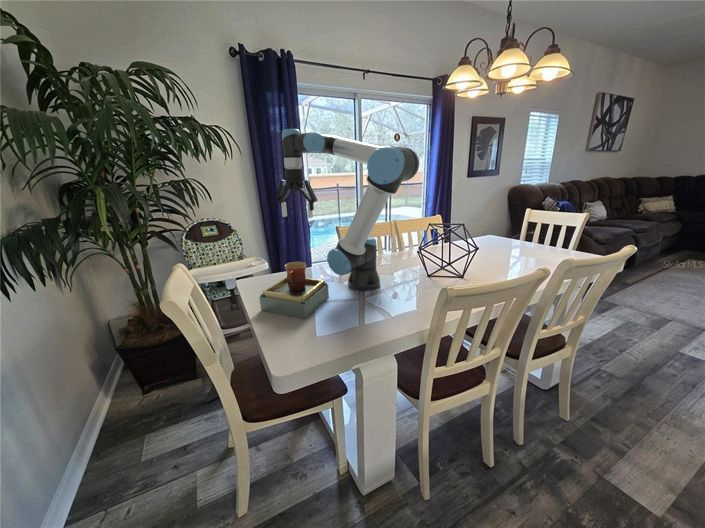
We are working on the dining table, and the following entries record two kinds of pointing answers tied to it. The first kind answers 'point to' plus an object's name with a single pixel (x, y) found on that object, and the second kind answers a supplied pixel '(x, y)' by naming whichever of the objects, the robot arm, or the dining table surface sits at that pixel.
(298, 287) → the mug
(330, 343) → the dining table surface
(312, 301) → the yellow rimmed grey box
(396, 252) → the dining table surface
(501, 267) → the dining table surface
